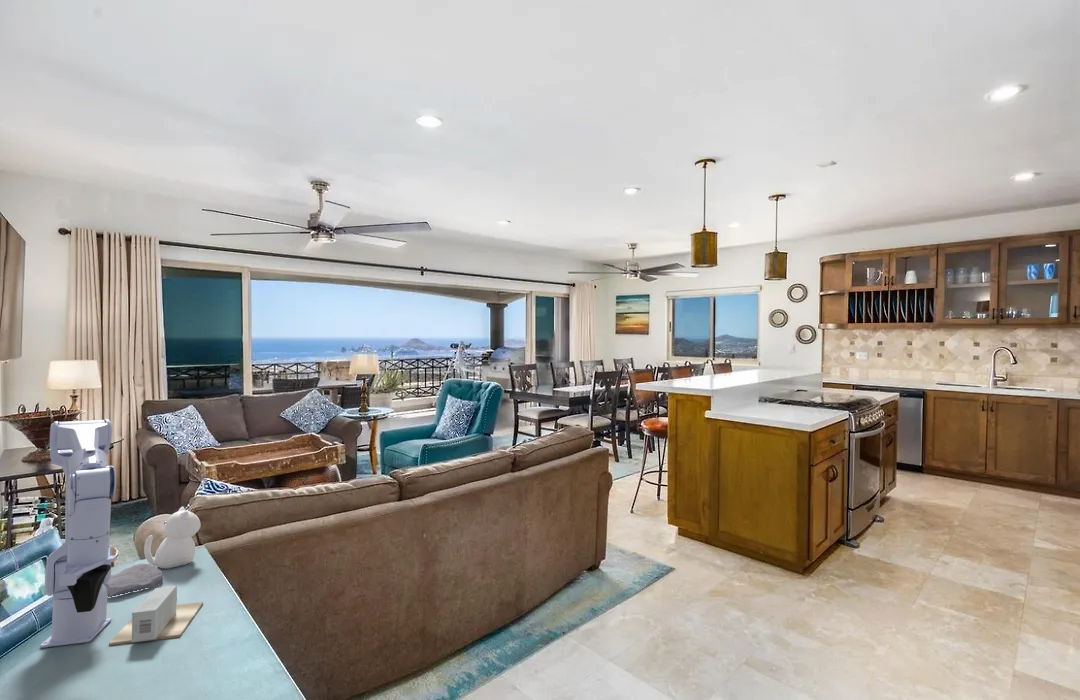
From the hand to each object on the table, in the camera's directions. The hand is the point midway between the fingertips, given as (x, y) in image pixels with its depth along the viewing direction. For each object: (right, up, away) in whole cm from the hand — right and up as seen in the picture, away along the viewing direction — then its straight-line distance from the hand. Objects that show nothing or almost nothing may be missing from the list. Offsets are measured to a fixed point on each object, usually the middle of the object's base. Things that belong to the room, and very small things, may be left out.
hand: (85, 610), depth 94 cm
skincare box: (+4, -7, +8) cm, 12 cm away
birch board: (+2, -11, +16) cm, 20 cm away
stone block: (-18, -12, +33) cm, 39 cm away
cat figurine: (-18, -12, +47) cm, 52 cm away
